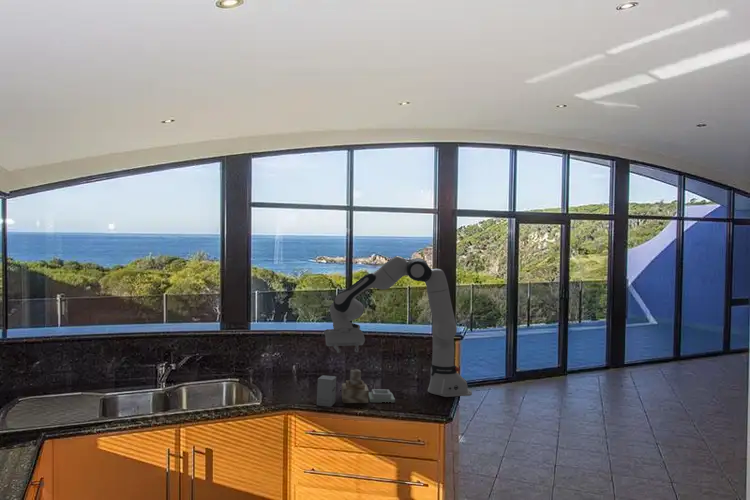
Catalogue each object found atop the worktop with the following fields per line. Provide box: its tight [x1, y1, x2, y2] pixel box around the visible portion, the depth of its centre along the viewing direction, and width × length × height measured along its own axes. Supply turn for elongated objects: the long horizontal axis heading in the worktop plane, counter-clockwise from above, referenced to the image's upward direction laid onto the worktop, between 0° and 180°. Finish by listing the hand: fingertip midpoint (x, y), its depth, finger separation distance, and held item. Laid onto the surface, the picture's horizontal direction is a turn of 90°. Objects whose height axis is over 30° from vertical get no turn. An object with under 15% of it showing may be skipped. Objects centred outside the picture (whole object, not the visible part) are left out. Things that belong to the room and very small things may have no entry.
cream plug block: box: [349, 368, 362, 385], centre depth 290 cm, size 4×4×8 cm
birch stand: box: [341, 379, 370, 404], centre depth 291 cm, size 12×12×8 cm
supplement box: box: [316, 374, 337, 408], centre depth 281 cm, size 7×7×13 cm
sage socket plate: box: [368, 388, 396, 404], centre depth 293 cm, size 12×12×4 cm
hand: (348, 352), depth 301 cm, fingers open, 8 cm apart
